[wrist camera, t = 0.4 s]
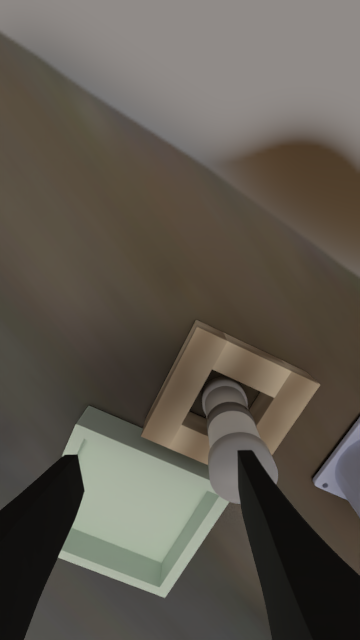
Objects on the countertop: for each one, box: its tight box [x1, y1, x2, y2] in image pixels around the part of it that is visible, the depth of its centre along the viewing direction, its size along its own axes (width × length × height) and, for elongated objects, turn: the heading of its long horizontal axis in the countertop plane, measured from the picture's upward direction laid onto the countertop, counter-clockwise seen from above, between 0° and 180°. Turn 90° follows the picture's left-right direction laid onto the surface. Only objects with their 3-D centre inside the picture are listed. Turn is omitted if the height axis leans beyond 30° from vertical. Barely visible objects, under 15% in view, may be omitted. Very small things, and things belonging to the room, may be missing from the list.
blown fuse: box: [202, 377, 278, 504], centre depth 17 cm, size 4×4×8 cm
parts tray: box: [58, 406, 229, 598], centre depth 22 cm, size 14×14×2 cm
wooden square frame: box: [141, 320, 320, 465], centre depth 20 cm, size 10×10×2 cm
